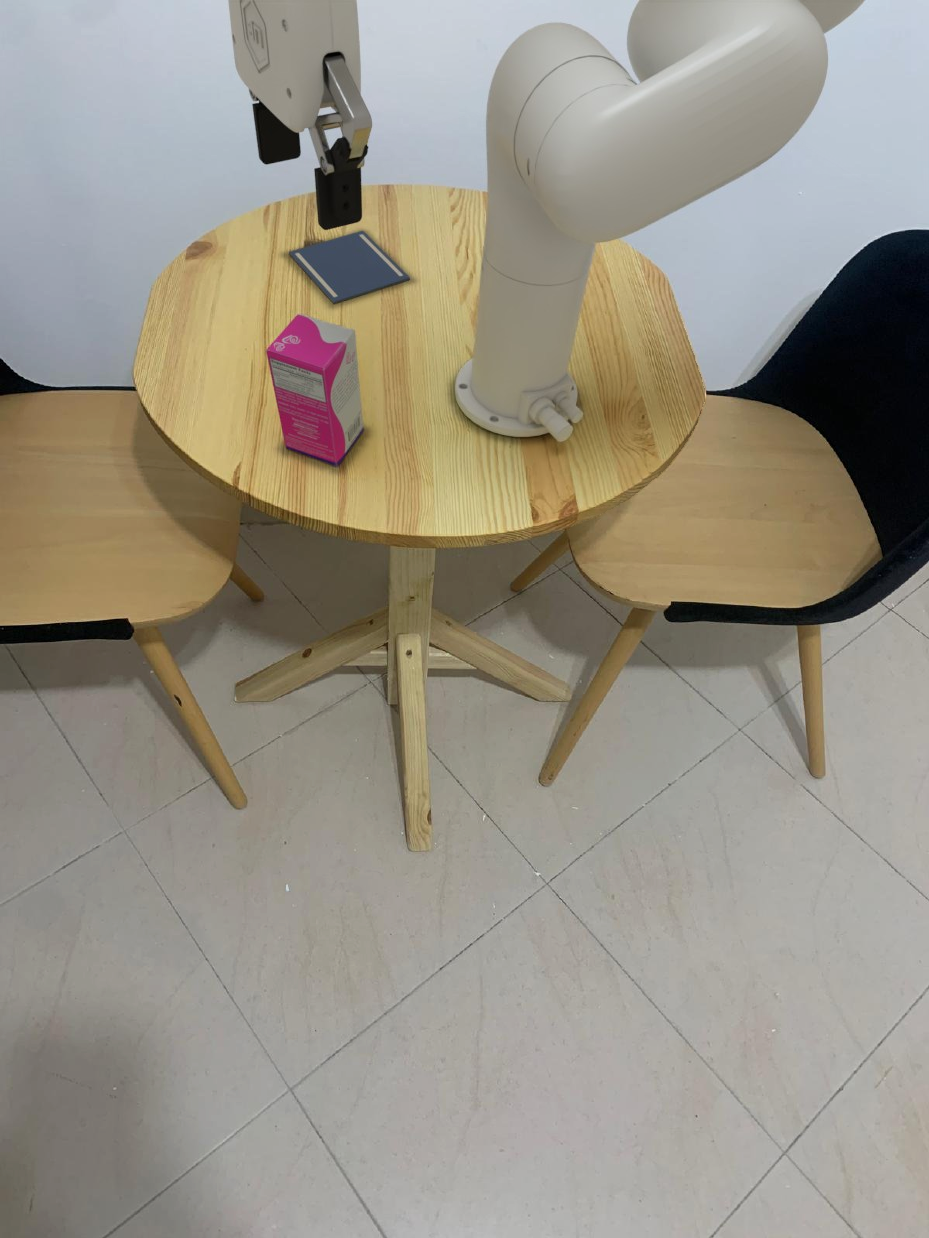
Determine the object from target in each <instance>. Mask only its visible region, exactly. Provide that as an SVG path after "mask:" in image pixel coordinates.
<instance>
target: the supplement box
mask: <svg viewBox="0 0 929 1238" xmlns="http://www.w3.org/2000/svg"><path fill="white" fill-rule="evenodd" d="M265 354H266V357H267V362H268V368H269V373H270V377H271V383H272V387H273V391H274V397H275V401H276V407H277V411H278V416H279V417H278V418H279V421H280V426H281V431H282V437H283V441H284V447H285V449H286V450H289V451H292V452H295V453H298V454H301V455H304V456H306V457H309V458H312V459H315V460H317V461H319V462H323V463H325V464H328V465H331V466H334V467H336V468H337V467H339V466H340V465H341V463H343V461H344V460H345V458H346V456H347V455H348V454H349V452H350V451H351V450H352V449H353V447H354V446H355V444H356V442H357V441H358V440H359V438H360V437H361V436H362V434H363V433H364V431H365V427H364V418H363V407H362V406H363V405H362V396H361V384H360V383H361V382H360V372H359V371H360V370H359V361H358V359H359V358H358V349H357V337H356V330H355V329H353V328H350V327H346V326H342V325H339V324H335V323H331V322H329V321H325V320H322V319H319V318H315V317H313V316H312V317H311V316H309V315H306V314H303V313H297V314H296V315H295V316H294V317H293V319H292V320H291V321H290V322H289V323H288V324H287V326H285V328H284V329H283V330H282V331H281V332H280V334H279V335H278V336H277V337H276V338H275V339H274V340H273V342H271V344H269V346H268V347H267V348H266V350H265Z"/></svg>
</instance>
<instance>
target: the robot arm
mask: <svg viewBox="0 0 929 1238" xmlns="http://www.w3.org/2000/svg"><path fill="white" fill-rule="evenodd" d="M227 1H228V11H229V20H230V30H231V32H230V33H231V40H232V48H233V49H232V50H233V58H234V63H235V68H236V71H237V74H238V76H239V78H240V80H241V81H242V82H243V84H244V85H245V86H246V87H247V89H248V92H249V96H250V98H251V100H252V101H253V102H255V103H251V105H252V113H253V121H254V128H255V136H256V144H257V153H258V158H259V160H260V161H261V162H262V164H263V165H266V166H267V165H272V164H276V163H281V162H286V161H291V160H295V159H299V158H300V156H301V155H302V149H301V137H300V133H303V132H304V131H305V129H308V133H309V135H310V136H309V137H310V138H311V142H312V145H313V148H314V151H315V155H316V158H317V161H318V164H319V167H315V168H314V171H313V172H314V183H315V184H314V185H315V197H316V212H317V214H316V215H317V223H318V226H319V227H320V228H321V229H322V230H323V231H329V230H332V229H338V228H341V227H345V226H350V225H354V224H357V223H359V222H361V220H362V218H363V195H362V193H363V191H362V190H363V189H362V168H364V166H365V158H366V156H367V155H368V152H369V145H368V143H369V138H370V137H371V136H370V135H371V132H372V128H373V120H372V116H371V113H370V111H369V109H368V107H367V105H366V102H365V100H364V98H363V97H362V70H361V69H362V67H361V64H362V63H361V62H362V61H361V44H360V42H361V41H360V26H359V14H358V12H359V11H358V1H357V0H227ZM865 1H866V0H638V2H637V3H636V5H635V7H634V9H633V11H632V13H631V15H630V18H629V21H628V28H627V33H626V51H627V55H628V59H629V62H630V65H631V68H632V71H633V73H634V75H635V77H636V78H637V80H638V81H639V83H637V81H635V80H634V78H633V77H632V76H631V75H630V73H629V72H628V70H626V67H625V68H624V66H623V65H622V64H621V62H619V61H618V60H617V59H616V57H615V56H614V55H613V54H612V53H611V52H610V51H609V50H608V49H607V48H606V47H605V46H604V45H603V43H601V42H600V41H599V40H598V39H597V38H595V36H593V35H592V34H591V33H589V32H587V31H586V30H584V29H583V28H580V27H579V26H576V25H573V24H571V23H565V22H546V23H541V24H537V25H535V26H533V27H532V28H530V29H527V30H526V31H525V32H523V33H522V34H520V35H519V36H518V37H516V38H515V40H513V41H512V43H511V44H510V45H508V48H507V49H506V50H505V51H504V53H503V55H502V56H501V58H500V60H499V62H498V64H497V65H496V68H495V70H494V72H493V76H492V79H491V82H490V86H489V89H488V96H487V103H486V113H485V114H486V116H485V143H486V145H485V146H486V149H485V150H486V174H487V175H486V177H487V178H486V179H487V180H486V181H487V187H486V188H487V189H486V190H487V191H486V212H485V226H484V238H483V245H482V254H481V264H480V275H479V286H478V296H477V297H478V298H477V310H476V319H475V320H476V321H475V330H474V341H473V351H472V357H471V358H470V359H469V360H467V361H466V362H465V363H464V364H463V365H462V366H461V367H460V369H459V371H458V372H457V374H456V377H455V381H454V382H455V383H454V396H455V400H456V402H457V405H458V407H459V408H460V410H461V411H462V412H463V414H464V415H465V416H466V417H467V418H468V419H470V421H471V422H473V423H474V424H476V425H477V426H479V427H481V428H483V429H485V430H487V431H490V432H492V433H495V434H499V435H502V436H506V437H514V438H515V437H516V438H530V437H536V436H537V437H538V436H541V435H545V434H549V435H551V436H552V437H553V438H554V439H555V440H556V441H557V442H559V443H562V442H565V441H566V440H568V439H569V438H570V437H571V435H572V434H573V431H574V427H573V425H571V424H570V422H569V421H571V422H572V423H573V424H578V423H579V422H581V420H582V419H583V417H584V412H583V411H582V410H581V408H580V407H578V406H577V402H578V387H577V384H576V381H575V380H574V378H573V376H572V375H571V373H569V366H570V363H571V358H572V353H573V349H574V345H575V339H576V336H577V331H578V327H579V326H578V325H579V322H580V316H581V312H582V308H583V303H584V298H585V293H586V289H587V285H588V281H589V276H590V271H591V267H592V264H593V261H594V260H593V259H594V257H595V250H596V246H597V244H602V243H608V242H612V241H615V240H619V239H622V238H624V237H627V236H629V235H632V234H634V233H637V232H638V231H641V230H643V229H644V228H646V227H648V226H651V225H652V224H654V223H656V222H658V221H660V220H662V219H664V218H666V217H668V216H670V215H672V214H674V213H676V212H677V211H679V210H681V209H683V208H685V207H687V206H689V205H690V204H692V203H694V202H697V201H698V200H700V199H702V198H704V197H706V196H708V195H710V194H711V193H713V192H715V191H717V190H719V189H721V188H723V187H725V186H726V185H729V184H730V183H732V182H734V181H736V180H738V179H740V178H741V177H744V176H745V175H747V174H748V173H750V172H752V171H753V170H755V169H757V168H758V167H760V166H762V165H763V164H764V163H766V162H768V161H769V160H770V159H771V158H773V157H774V156H775V155H777V153H779V152H780V151H781V150H782V149H783V148H784V147H785V146H786V145H788V143H789V142H790V141H791V140H792V139H793V138H794V137H795V136H796V135H797V134H798V132H799V131H800V130H801V128H802V127H803V126H804V124H805V123H806V121H808V119H809V117H810V116H811V114H812V112H814V110H815V107H816V105H817V104H818V101H819V99H820V97H821V94H822V92H823V89H824V86H825V83H826V79H827V74H828V67H829V53H828V52H829V51H828V50H829V49H828V43H827V39H826V37H825V34H827V33H828V32H830V31H831V30H833V29H834V28H836V27H837V26H839V25H840V24H841V23H843V22H844V21H845V20H846V19H848V18H849V17H850V16H851V15H852V14H854V13H855V12H856V11H857V10H858V9H859V8H860V7H861V6H862V5H863V3H864V2H865ZM326 108H331V109H332V110H333V111H334V112H331V113H325V114H319V112H320V110H321V109H326ZM338 128H340V131H341V134H342V135H341V137H337V139H336V140H335V142H334V143H333V144H332V145H331V148H330V145H329V142H328V139H327V136H326V133H325V131H328V130H334V129H338Z"/></svg>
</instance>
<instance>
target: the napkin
mask: <svg viewBox="0 0 929 1238" xmlns="http://www.w3.org/2000/svg"><path fill="white" fill-rule="evenodd" d="M288 255H289V256H290V257H291V258H292V260H293V261H295V263H296V264H297V265H298V267H300V268H301V269H302V270H303V271H304V273H305V274H306V275H307V276H308V277H309V279H311V281H312V282H313V283H314V284H315V285H316V286H317V287H318V288H319V289H320V291H321V292H322V293H323V294H324V296H326V298H328V299H329V301H330V302H331V303H332V304H333V305H335V304H338V303H342V302H345V301H348V300H351V299H355V298H358V297H361V296H364V295H367V294H371V293H373V292H376V291H379V290H383V289H386V288H389V287H391V286H394V285H398V284H401V283H404V282H407V281H410V280H411V276H409V275H408V274H407V273H406V272H405V271H404V270H403V269H402V268H401V267H400V266H399V265H398V264H397V263H396V262H395V261H394V260H393V258H391V257H390V255H388V254H387V253H386V252H385V250H383V249H382V248H381V246H379V245H378V244H377V243H376V242H375V241H374V240H373V239H372V238H371V237H370V236H369V235H368V234H367V233H366V231H364V230H359V231H356V232H353V233H349V234H346V235H342V236H339V237H335V238H333V239H329V240H325V241H321V242H318V243H315V244H311V245H307V246H304V247H301V248H296V249H294V250H290V251H288Z"/></svg>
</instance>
